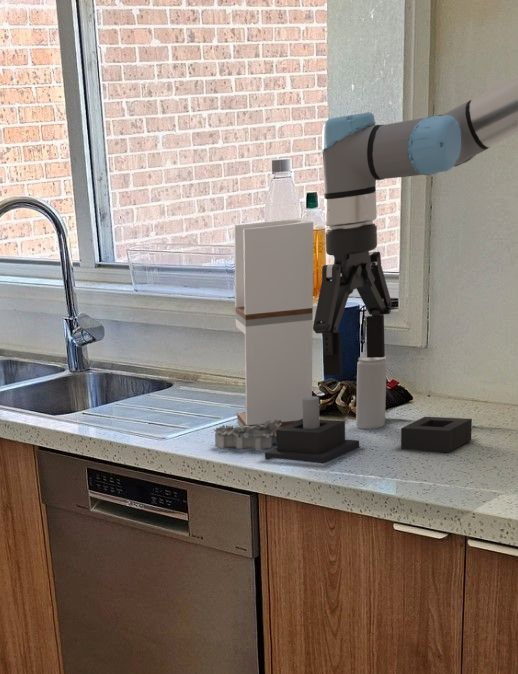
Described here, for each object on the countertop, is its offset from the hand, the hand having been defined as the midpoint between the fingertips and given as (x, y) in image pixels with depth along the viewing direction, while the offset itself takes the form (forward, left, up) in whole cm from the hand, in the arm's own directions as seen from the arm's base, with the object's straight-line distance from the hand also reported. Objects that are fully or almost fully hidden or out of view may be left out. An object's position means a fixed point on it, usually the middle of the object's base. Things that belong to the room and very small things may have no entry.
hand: (354, 366), depth 194 cm
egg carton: (+20, +2, -14) cm, 24 cm away
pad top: (-10, -7, -14) cm, 19 cm away
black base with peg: (+6, +4, -14) cm, 16 cm away
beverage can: (+6, -15, -14) cm, 22 cm away
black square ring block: (+6, +4, -13) cm, 14 cm away
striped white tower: (+23, -11, -14) cm, 29 cm away
